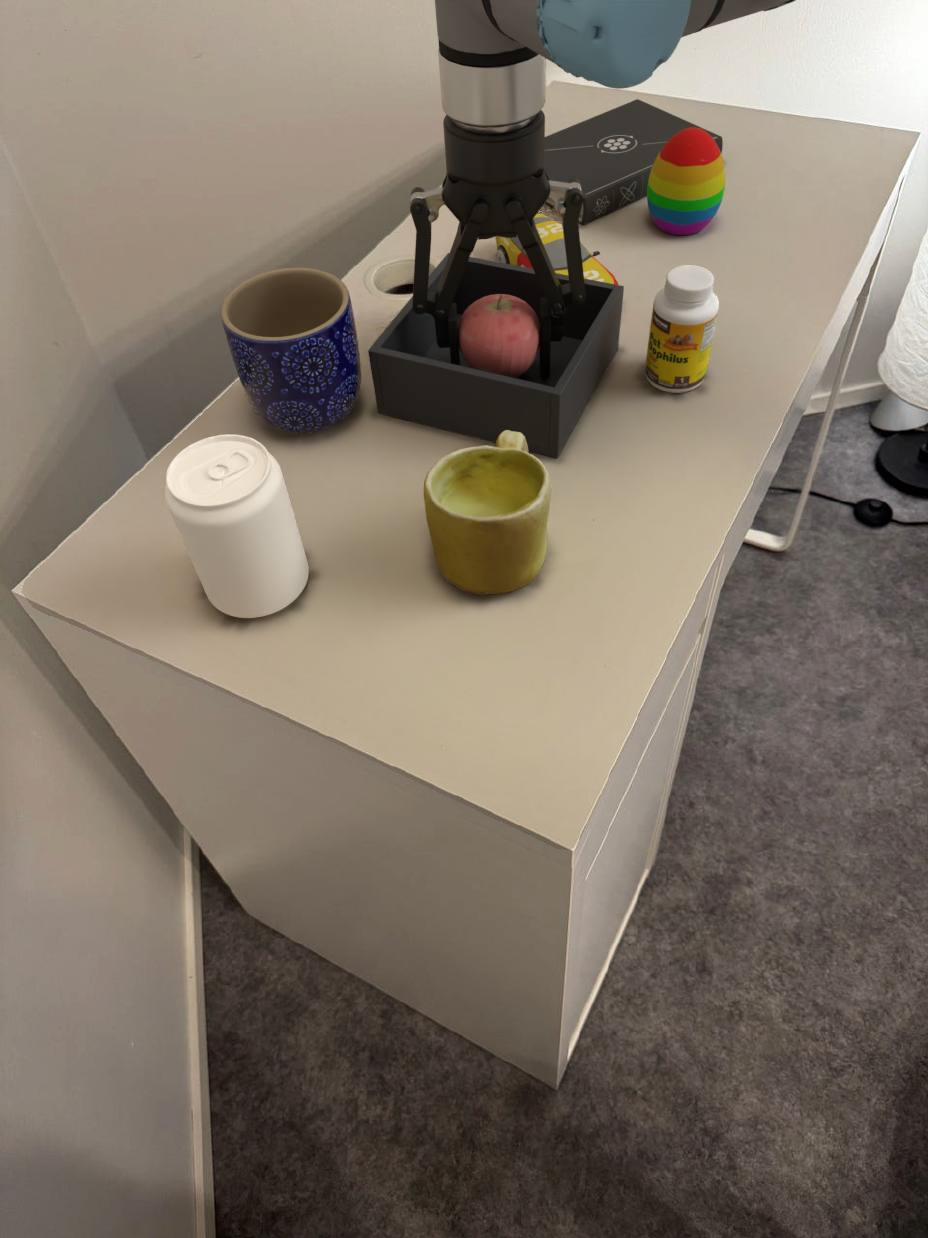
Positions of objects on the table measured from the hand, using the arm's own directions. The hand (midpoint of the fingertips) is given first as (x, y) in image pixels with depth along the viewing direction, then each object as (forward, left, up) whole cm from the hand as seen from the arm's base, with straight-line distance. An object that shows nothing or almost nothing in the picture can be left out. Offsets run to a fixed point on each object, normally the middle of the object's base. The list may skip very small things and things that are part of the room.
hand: (500, 370), depth 84 cm
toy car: (+1, -17, -1) cm, 17 cm away
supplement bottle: (-15, -6, -1) cm, 16 cm away
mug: (-8, +19, -1) cm, 21 cm away
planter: (+15, +10, -1) cm, 18 cm away
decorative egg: (-8, -33, -1) cm, 34 cm away
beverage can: (+8, +30, -1) cm, 31 cm away
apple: (0, 0, 0) cm, 0 cm away
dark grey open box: (0, 0, -1) cm, 1 cm away
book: (+3, -42, -1) cm, 42 cm away
